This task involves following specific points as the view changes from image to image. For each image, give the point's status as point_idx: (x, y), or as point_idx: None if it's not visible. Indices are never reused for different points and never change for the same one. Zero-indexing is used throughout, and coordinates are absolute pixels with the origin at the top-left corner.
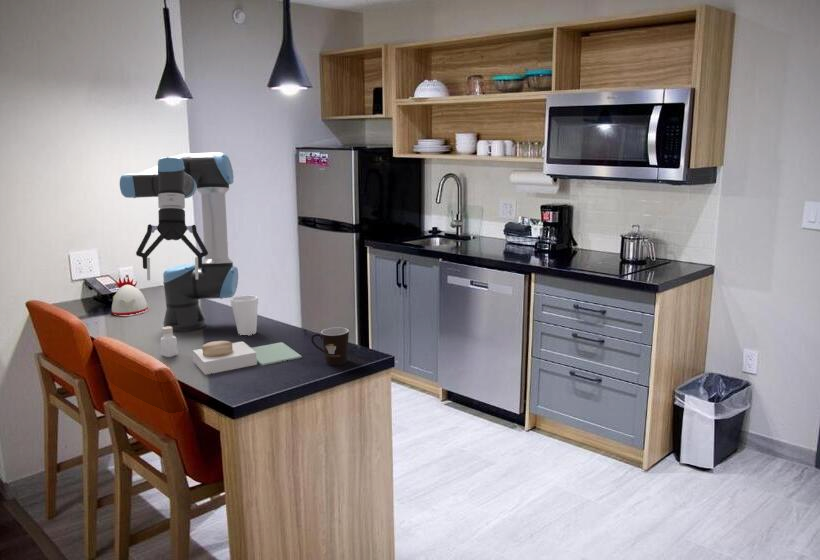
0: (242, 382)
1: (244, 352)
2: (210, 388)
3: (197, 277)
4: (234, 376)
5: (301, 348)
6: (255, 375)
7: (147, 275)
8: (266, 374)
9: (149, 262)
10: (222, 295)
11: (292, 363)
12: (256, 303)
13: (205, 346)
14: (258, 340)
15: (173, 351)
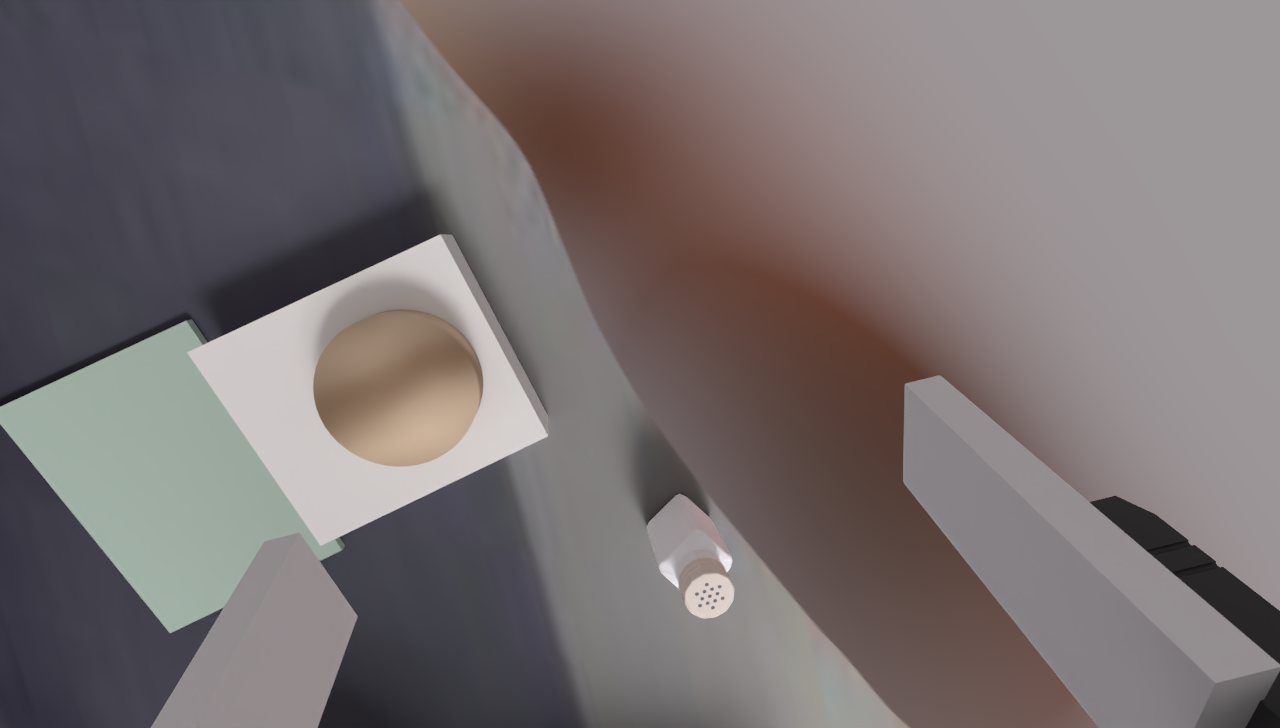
0: (230, 87)
1: (255, 359)
2: (376, 34)
3: (268, 555)
4: (298, 186)
5: (45, 551)
6: (188, 180)
7: (972, 406)
8: (130, 184)
9: (1110, 578)
10: None
11: (28, 329)
12: None
13: (458, 377)
14: None
15: (662, 517)
